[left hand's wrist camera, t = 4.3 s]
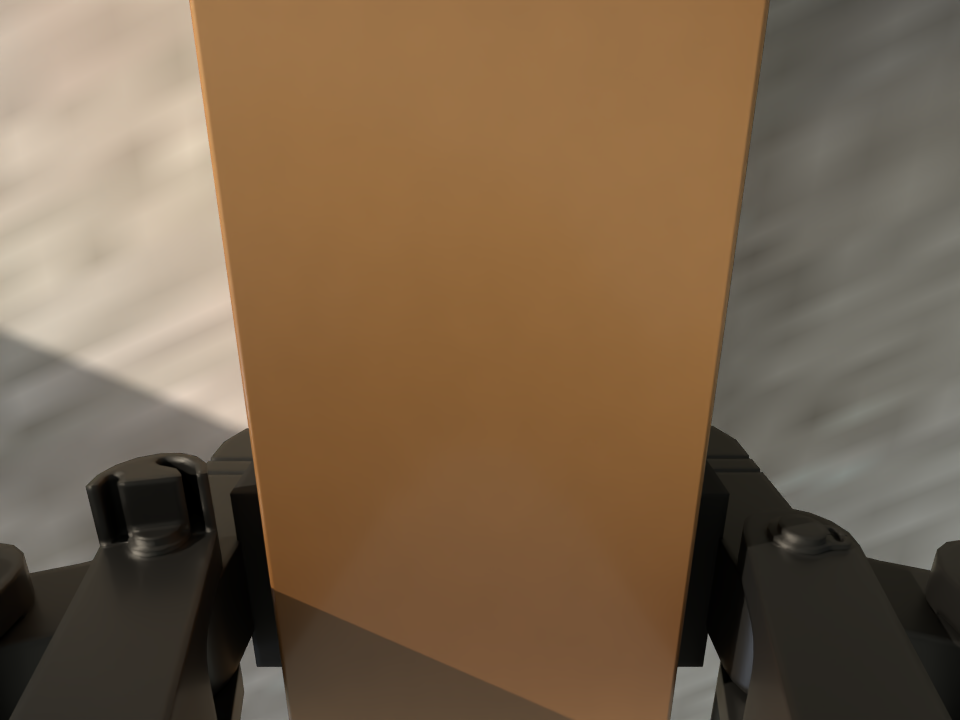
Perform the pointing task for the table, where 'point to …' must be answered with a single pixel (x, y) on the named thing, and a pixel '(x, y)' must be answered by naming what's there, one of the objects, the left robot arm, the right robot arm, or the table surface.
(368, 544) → the beam
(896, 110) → the table surface
